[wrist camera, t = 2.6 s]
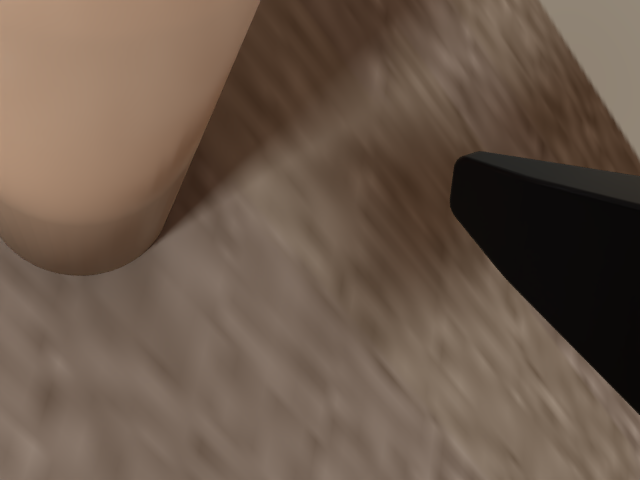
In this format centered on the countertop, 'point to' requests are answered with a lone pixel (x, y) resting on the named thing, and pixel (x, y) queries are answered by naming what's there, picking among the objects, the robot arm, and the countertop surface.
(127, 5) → the canister
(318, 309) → the countertop surface
